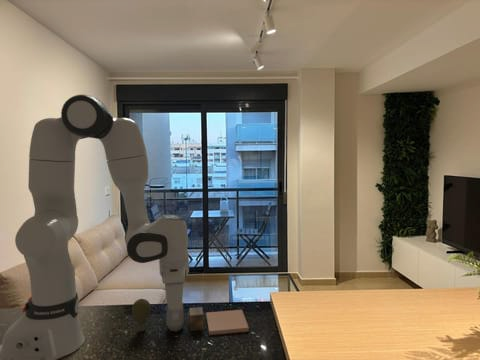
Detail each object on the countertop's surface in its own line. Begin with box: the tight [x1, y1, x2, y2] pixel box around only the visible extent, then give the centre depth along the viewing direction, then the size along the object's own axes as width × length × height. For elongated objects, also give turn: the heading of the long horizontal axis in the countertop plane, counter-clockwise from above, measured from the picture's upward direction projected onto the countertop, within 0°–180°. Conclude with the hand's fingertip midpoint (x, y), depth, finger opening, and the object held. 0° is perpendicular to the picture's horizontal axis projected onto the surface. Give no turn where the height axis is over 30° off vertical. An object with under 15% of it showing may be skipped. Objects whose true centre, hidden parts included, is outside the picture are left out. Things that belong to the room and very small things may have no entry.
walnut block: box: [189, 306, 204, 332], centre depth 112 cm, size 4×5×5 cm
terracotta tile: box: [205, 309, 250, 336], centre depth 114 cm, size 12×12×1 cm
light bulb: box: [131, 298, 152, 332], centre depth 109 cm, size 6×6×10 cm
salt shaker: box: [165, 307, 186, 332], centre depth 111 cm, size 6×6×13 cm
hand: (175, 310), depth 111 cm, fingers open, 8 cm apart
